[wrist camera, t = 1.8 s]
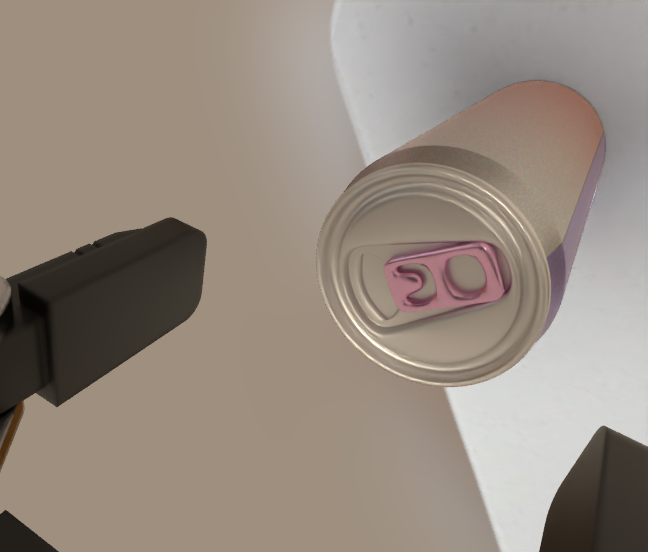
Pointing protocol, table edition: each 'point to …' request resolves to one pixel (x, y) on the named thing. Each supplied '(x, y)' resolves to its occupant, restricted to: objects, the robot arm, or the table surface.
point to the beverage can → (464, 236)
